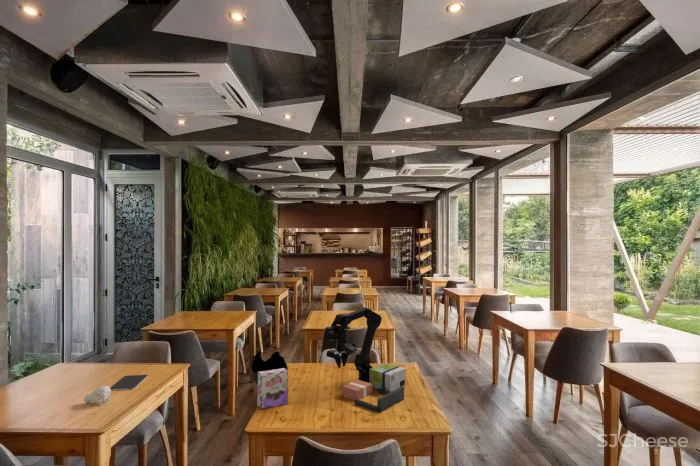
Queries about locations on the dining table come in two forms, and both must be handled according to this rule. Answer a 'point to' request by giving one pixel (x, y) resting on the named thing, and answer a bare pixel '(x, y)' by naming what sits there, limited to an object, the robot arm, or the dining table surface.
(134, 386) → the notebook
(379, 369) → the tea box
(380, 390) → the display stand
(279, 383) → the candy box
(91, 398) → the grey rounded lump
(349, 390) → the carton
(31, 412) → the dining table surface
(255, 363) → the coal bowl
